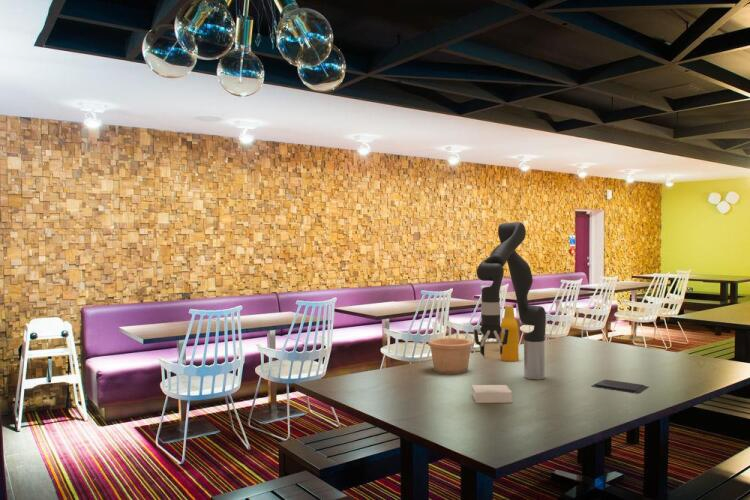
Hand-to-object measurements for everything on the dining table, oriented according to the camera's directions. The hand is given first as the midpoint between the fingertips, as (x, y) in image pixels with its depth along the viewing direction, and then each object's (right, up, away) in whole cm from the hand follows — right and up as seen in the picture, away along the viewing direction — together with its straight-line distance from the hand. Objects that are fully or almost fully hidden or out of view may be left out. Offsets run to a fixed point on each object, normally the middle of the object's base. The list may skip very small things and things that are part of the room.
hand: (491, 354), depth 227 cm
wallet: (+59, -18, +16) cm, 63 cm away
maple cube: (0, -1, 0) cm, 1 cm away
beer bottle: (+26, -17, +76) cm, 82 cm away
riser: (0, -18, 0) cm, 18 cm away
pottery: (-9, -18, +52) cm, 56 cm away
